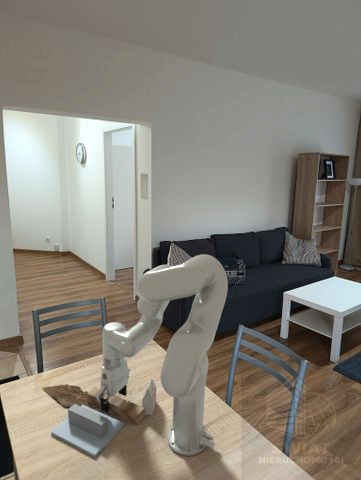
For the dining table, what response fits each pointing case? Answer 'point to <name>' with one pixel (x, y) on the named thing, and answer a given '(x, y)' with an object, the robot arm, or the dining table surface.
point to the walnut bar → (119, 407)
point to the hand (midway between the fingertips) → (114, 402)
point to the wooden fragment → (69, 395)
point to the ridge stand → (87, 429)
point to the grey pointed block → (149, 398)
